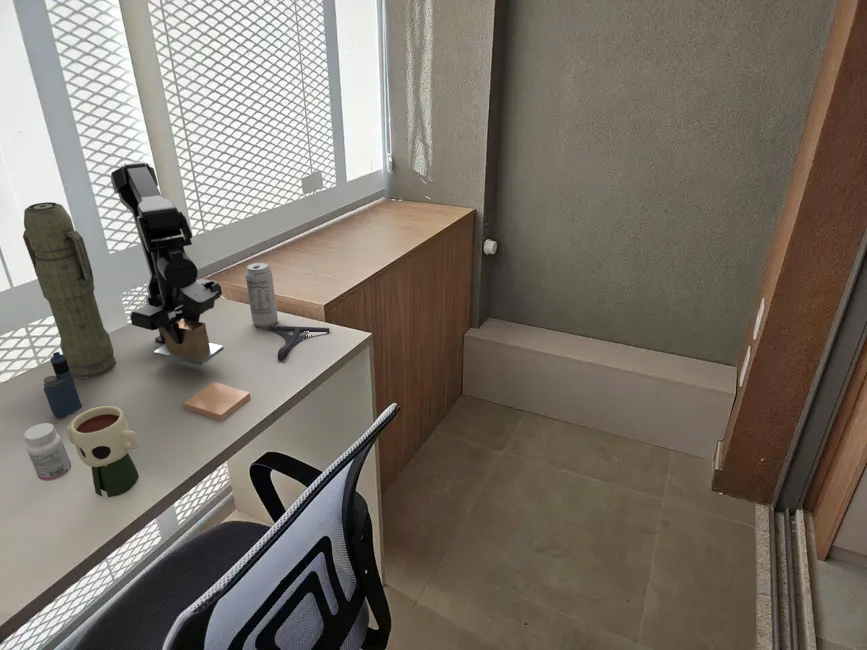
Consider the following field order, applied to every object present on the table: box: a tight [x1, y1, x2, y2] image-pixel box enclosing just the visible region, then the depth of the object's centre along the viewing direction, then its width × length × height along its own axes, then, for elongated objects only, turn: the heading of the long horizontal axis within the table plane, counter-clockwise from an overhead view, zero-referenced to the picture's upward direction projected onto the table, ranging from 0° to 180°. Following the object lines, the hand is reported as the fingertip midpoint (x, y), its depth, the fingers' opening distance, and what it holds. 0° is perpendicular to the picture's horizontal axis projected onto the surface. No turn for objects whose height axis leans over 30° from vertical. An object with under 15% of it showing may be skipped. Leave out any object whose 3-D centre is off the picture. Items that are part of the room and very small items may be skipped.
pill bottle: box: [23, 422, 72, 482], centre depth 91 cm, size 5×5×8 cm
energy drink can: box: [244, 261, 279, 328], centre depth 136 cm, size 6×6×15 cm
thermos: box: [22, 201, 117, 379], centre depth 113 cm, size 9×12×35 cm
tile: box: [183, 382, 251, 421], centre depth 110 cm, size 2×8×9 cm
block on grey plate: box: [153, 319, 225, 366], centre depth 118 cm, size 12×7×7 cm, turn 71°
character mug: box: [66, 405, 140, 498], centre depth 87 cm, size 11×7×13 cm, turn 83°
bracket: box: [268, 325, 330, 361], centre depth 130 cm, size 14×15×3 cm
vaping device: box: [43, 351, 83, 420], centre depth 104 cm, size 3×5×12 cm, turn 161°
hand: (186, 339), depth 119 cm, fingers closed on block on grey plate, 4 cm apart
